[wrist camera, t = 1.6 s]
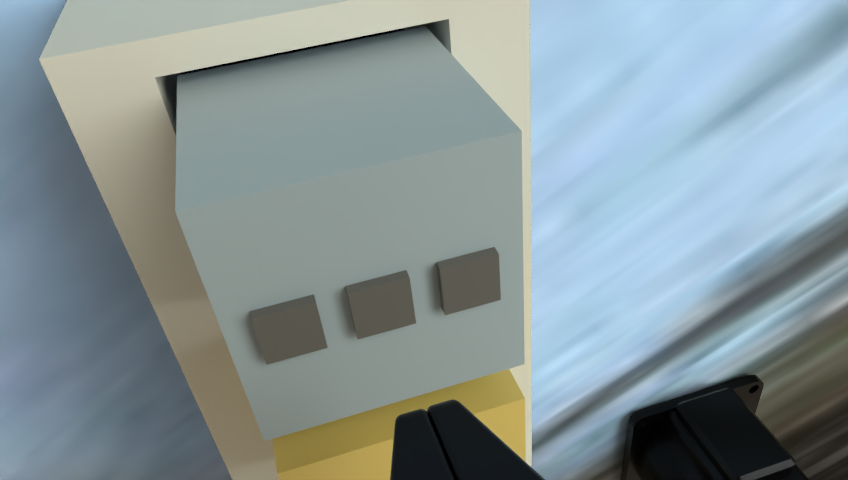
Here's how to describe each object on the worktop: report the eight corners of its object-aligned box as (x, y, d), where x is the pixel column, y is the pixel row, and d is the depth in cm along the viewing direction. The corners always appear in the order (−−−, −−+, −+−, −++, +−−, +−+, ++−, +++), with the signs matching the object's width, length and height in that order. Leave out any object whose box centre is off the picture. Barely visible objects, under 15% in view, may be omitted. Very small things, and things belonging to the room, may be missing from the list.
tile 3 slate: (444, 223, 17) (528, 371, 13) (244, 274, 16) (265, 450, 12) (425, 25, 14) (526, 136, 10) (177, 75, 13) (175, 219, 9)
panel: (492, 426, 28) (532, 511, 24) (272, 494, 26) (285, 595, 23) (462, -74, 16) (529, -35, 13) (69, -5, 15) (39, 59, 12)
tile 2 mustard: (460, 384, 20) (529, 539, 16) (297, 432, 20) (327, 609, 16) (448, 255, 17) (528, 406, 13) (254, 305, 17) (278, 483, 13)
